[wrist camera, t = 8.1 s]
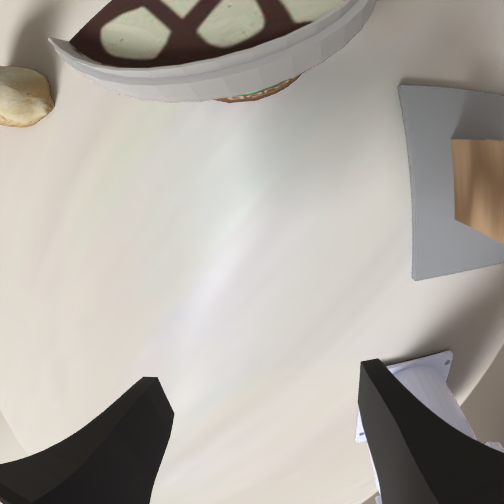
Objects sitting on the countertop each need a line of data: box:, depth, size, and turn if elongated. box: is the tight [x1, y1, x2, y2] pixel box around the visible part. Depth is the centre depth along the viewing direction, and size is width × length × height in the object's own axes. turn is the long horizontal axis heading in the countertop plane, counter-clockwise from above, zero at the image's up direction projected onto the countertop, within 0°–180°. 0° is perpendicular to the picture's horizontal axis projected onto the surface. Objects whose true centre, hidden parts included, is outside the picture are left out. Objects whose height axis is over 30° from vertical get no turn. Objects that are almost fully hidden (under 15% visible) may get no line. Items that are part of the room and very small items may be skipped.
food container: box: [48, 0, 376, 103], centre depth 10 cm, size 12×6×10 cm, turn 128°
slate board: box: [398, 85, 504, 281], centre depth 15 cm, size 12×11×1 cm
